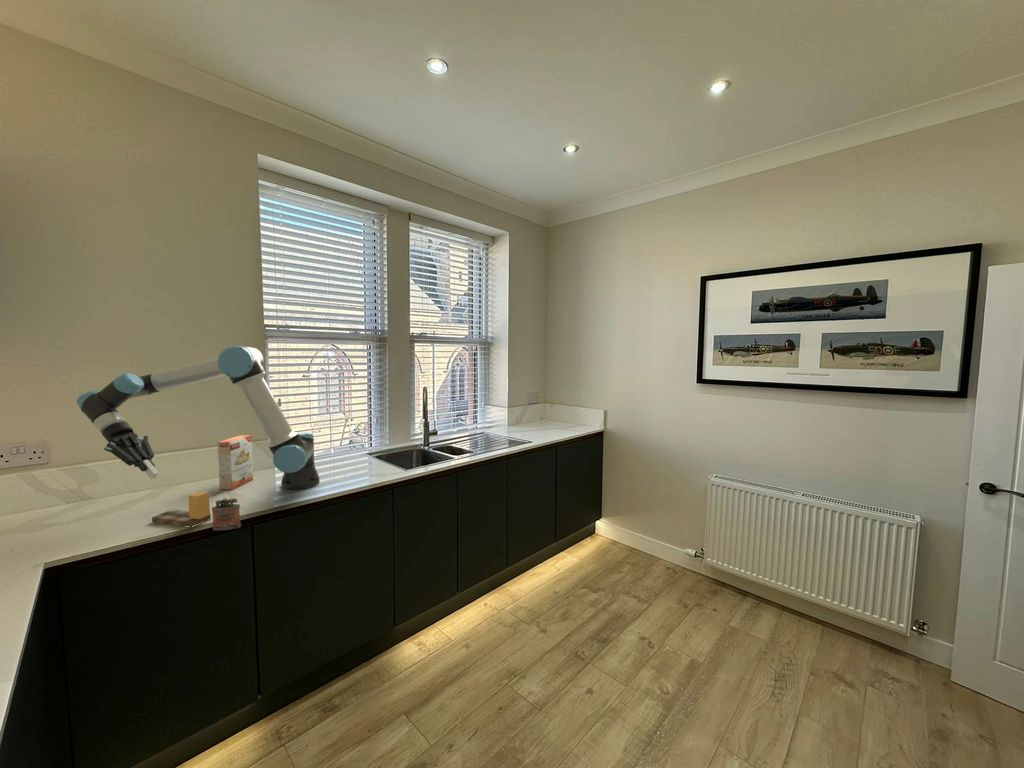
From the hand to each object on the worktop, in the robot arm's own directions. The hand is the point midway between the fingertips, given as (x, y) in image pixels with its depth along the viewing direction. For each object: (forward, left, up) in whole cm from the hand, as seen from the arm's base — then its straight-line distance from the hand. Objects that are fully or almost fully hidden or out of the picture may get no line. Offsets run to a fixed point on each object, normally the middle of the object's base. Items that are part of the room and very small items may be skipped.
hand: (154, 475), depth 144 cm
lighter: (-23, +20, -16) cm, 34 cm away
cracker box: (-20, -30, -16) cm, 39 cm away
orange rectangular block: (-14, +12, -13) cm, 23 cm away
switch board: (-8, +7, -16) cm, 19 cm away
